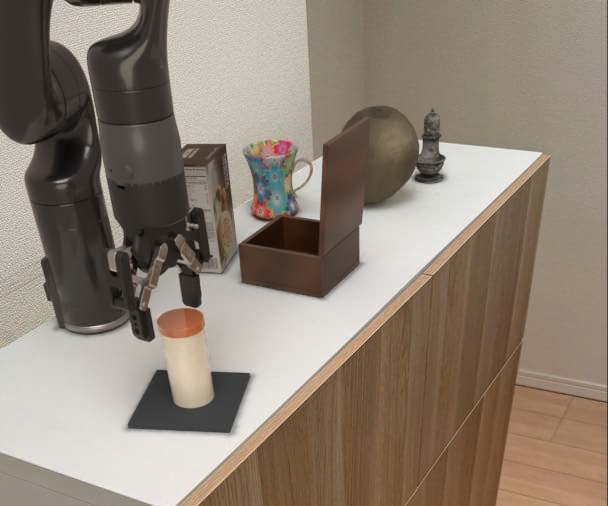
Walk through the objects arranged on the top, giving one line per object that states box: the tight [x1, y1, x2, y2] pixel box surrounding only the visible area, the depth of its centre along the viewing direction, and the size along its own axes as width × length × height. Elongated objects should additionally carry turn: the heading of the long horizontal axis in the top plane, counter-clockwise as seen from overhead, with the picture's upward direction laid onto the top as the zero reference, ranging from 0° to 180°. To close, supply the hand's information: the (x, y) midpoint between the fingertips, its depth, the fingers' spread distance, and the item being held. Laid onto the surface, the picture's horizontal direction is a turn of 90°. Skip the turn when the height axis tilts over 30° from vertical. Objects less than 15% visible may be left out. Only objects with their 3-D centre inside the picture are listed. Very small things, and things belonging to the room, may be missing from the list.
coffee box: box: [181, 143, 238, 274], centre depth 117 cm, size 9×6×16 cm
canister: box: [156, 307, 215, 408], centre depth 89 cm, size 5×5×10 cm
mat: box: [127, 369, 251, 433], centre depth 92 cm, size 12×12×1 cm
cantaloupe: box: [340, 105, 420, 205], centre depth 132 cm, size 14×14×15 cm
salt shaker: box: [414, 107, 447, 184], centre depth 141 cm, size 6×6×12 cm
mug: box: [242, 139, 314, 220], centre depth 132 cm, size 12×9×11 cm
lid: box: [318, 117, 371, 256], centre depth 105 cm, size 14×13×1 cm
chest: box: [237, 214, 360, 299], centre depth 115 cm, size 14×13×6 cm
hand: (169, 322), depth 85 cm, fingers open, 8 cm apart
